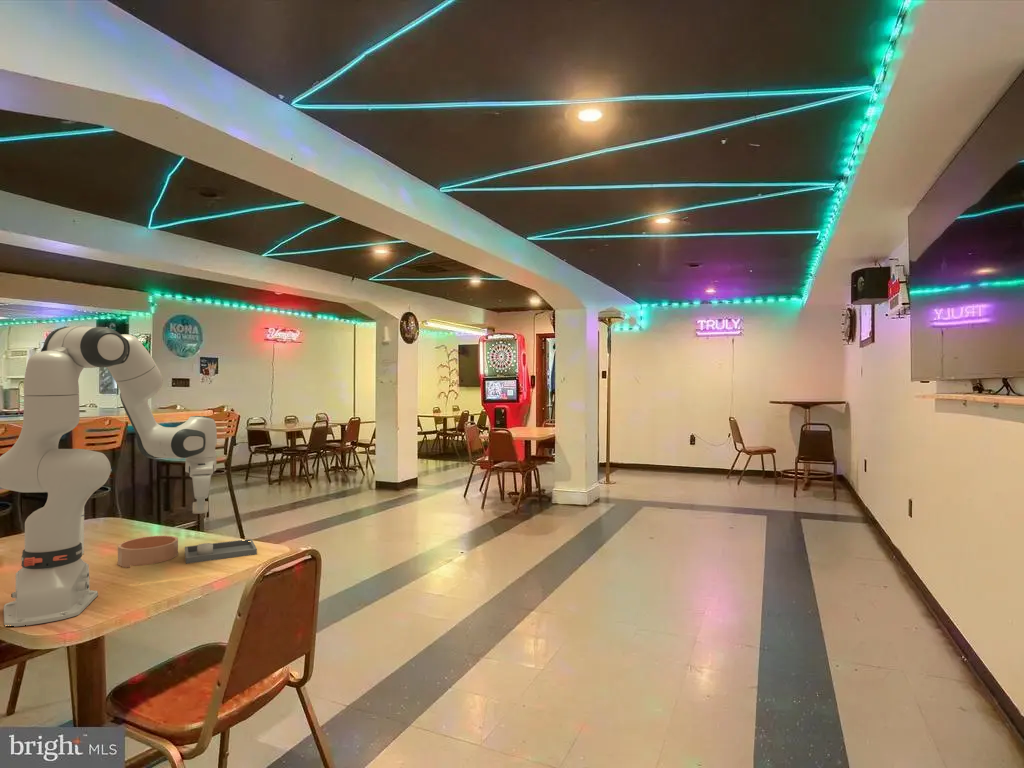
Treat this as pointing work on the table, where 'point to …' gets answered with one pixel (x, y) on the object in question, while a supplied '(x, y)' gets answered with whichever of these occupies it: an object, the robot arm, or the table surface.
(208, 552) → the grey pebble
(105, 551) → the table surface
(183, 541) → the table surface
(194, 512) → the sandstone pebble
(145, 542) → the terracotta bowl
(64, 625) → the table surface
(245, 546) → the parts tray
